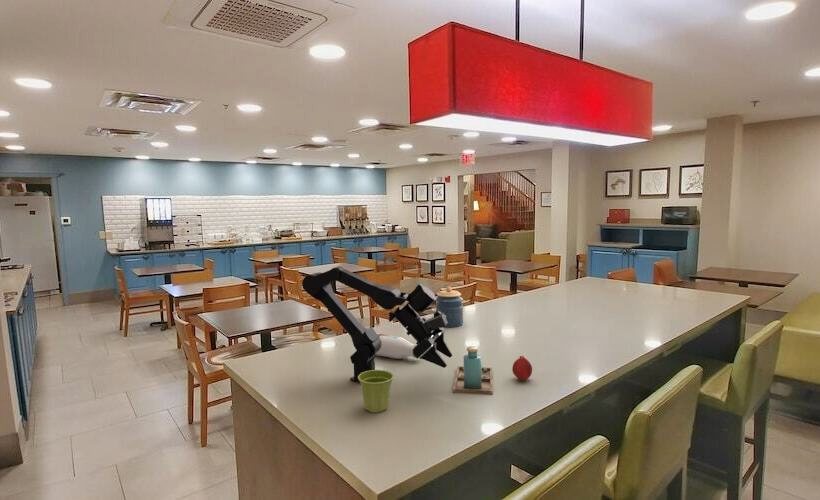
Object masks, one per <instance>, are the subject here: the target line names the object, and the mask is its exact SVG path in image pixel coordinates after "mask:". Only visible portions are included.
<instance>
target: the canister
mask: <svg viewBox="0 0 820 500" xmlns="http://www.w3.org/2000/svg"><path fill="white" fill-rule="evenodd" d="M463 301H464V298H463V297H462V293H461V292H459V291H458V290H454V289H452V287H451V286H447V287H446V289H445V290H444V289H443V290H440V291H439V292H437V293H436V300H435V302H436V303H435V306H434V308H435V312H437V311H440V312H441V313H444V315H446V320H447V322H448V323H447V324H446V326H445V327H444V328H456V327H460V326H463V324H464V305H463Z"/></svg>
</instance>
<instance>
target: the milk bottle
mask: <svg viewBox="0 0 820 500" xmlns="http://www.w3.org/2000/svg"><path fill="white" fill-rule="evenodd" d="M376 333H377V332H376ZM377 334H378V335H380V337H379V338H380V340H381V342H382V343H381V348H380V350H379V351H378V352H377V353H376V355H375V356H379V357H385V358H390V359H397V360H399V359H400V360H401V359H405V358H409V357H412V358H415V359H417V358H416V357H415V356H414V355H413V348H414V347H415V346H416V345H417V344H416V343H415V344H413V343H412V342H410V341H408V340H407V339H405V338H403V337H400V336H395V335H389V334H383V333H377ZM421 356H422V355H421ZM421 356H420V357H421ZM420 357H419V358H418V359H420Z"/></svg>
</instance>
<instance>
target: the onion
mask: <svg viewBox="0 0 820 500" xmlns="http://www.w3.org/2000/svg"><path fill="white" fill-rule="evenodd" d="M511 367H512V368H511V370H512V374H513V375H514V376H515V377H516V378H517V379H518V380H519V381H526V380H528V379H529V378H530V377H531V376H532V374H533V367H532V364H531V363H530V361H529V360H528V359H527V358H525V356H524V355H522V354H521V355H519V358H517V359H516V360H514V362H513V364H512V366H511Z"/></svg>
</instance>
